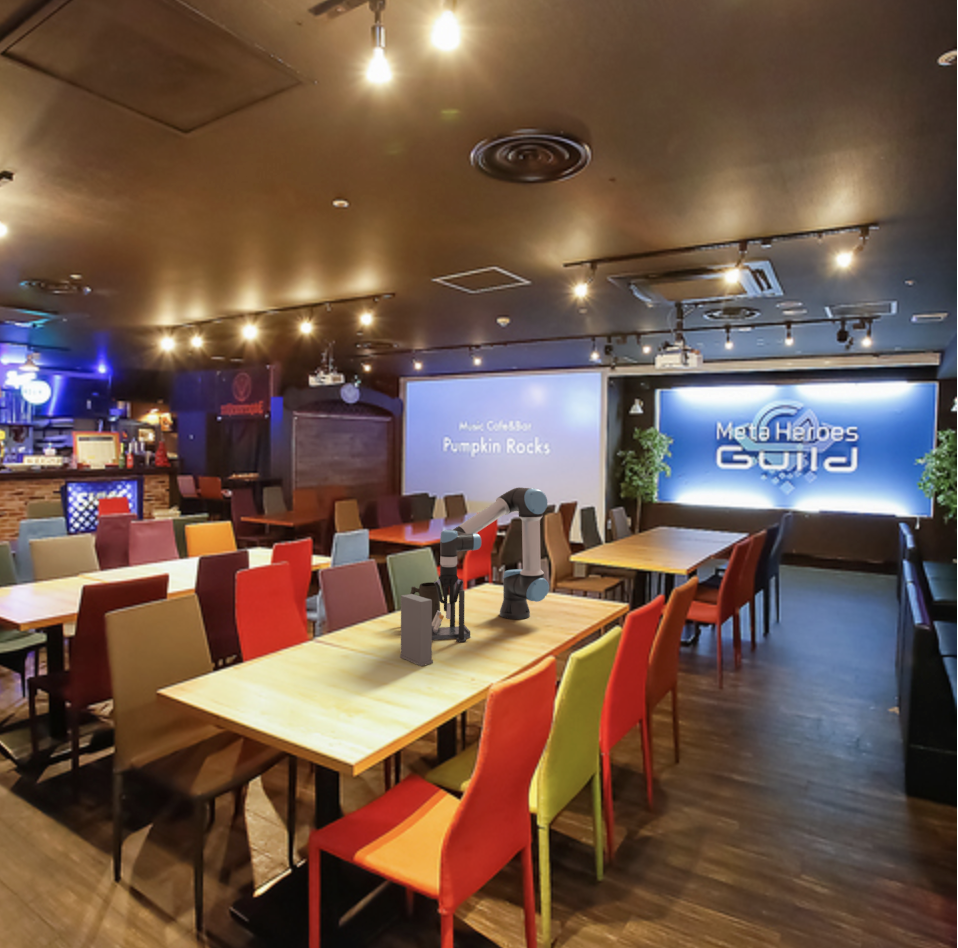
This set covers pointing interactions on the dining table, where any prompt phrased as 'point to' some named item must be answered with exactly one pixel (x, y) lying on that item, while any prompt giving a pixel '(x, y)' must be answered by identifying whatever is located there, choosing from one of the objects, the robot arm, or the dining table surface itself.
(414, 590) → the beer stein
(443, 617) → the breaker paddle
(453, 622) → the cable post far
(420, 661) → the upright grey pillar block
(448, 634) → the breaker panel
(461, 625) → the disc
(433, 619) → the breaker paddle
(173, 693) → the dining table surface
